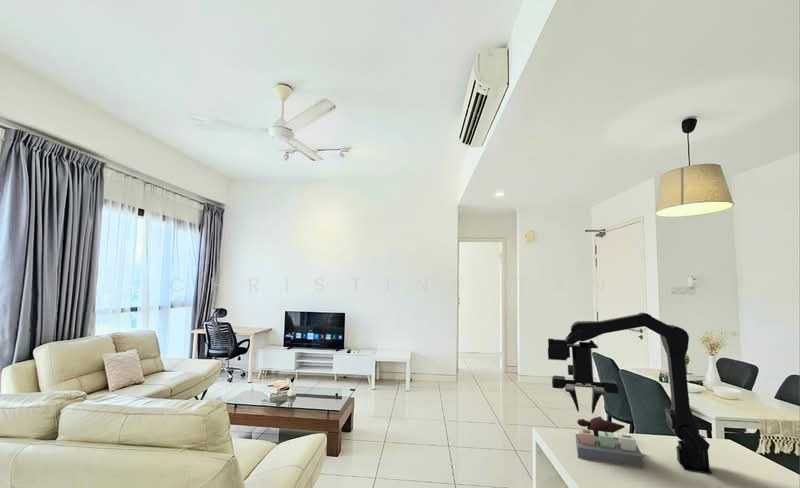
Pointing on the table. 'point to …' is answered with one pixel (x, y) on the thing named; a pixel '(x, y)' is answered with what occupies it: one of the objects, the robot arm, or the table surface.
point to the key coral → (586, 437)
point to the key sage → (606, 439)
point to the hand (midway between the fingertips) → (585, 412)
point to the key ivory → (627, 442)
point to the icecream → (600, 425)
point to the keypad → (609, 453)
